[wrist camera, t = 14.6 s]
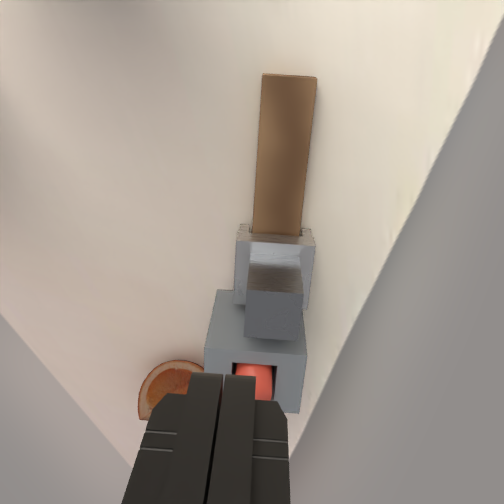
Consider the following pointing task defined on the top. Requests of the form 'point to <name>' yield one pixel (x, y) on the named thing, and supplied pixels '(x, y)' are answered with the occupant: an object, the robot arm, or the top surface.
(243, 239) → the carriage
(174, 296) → the top surface
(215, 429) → the robot arm
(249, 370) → the button
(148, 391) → the fruit slice
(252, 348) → the cabinet
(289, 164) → the rail
